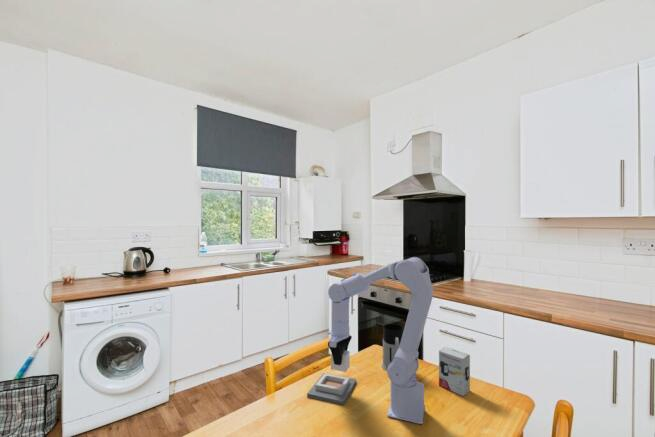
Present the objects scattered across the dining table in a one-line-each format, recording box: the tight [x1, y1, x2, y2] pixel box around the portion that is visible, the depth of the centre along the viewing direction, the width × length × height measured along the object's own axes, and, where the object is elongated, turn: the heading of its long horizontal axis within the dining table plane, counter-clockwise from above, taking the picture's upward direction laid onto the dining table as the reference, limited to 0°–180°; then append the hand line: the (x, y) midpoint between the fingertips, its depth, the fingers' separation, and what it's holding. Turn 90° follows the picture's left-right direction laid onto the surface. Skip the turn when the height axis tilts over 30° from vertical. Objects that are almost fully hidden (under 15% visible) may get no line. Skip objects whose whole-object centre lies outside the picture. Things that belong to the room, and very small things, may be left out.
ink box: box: [438, 346, 471, 397], centre depth 99 cm, size 9×5×12 cm, turn 42°
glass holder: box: [381, 323, 404, 372], centre depth 111 cm, size 9×14×15 cm, turn 178°
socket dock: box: [306, 372, 357, 406], centre depth 98 cm, size 12×14×2 cm
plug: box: [330, 349, 351, 373], centre depth 98 cm, size 5×4×6 cm
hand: (339, 361), depth 98 cm, fingers closed on plug, 4 cm apart
